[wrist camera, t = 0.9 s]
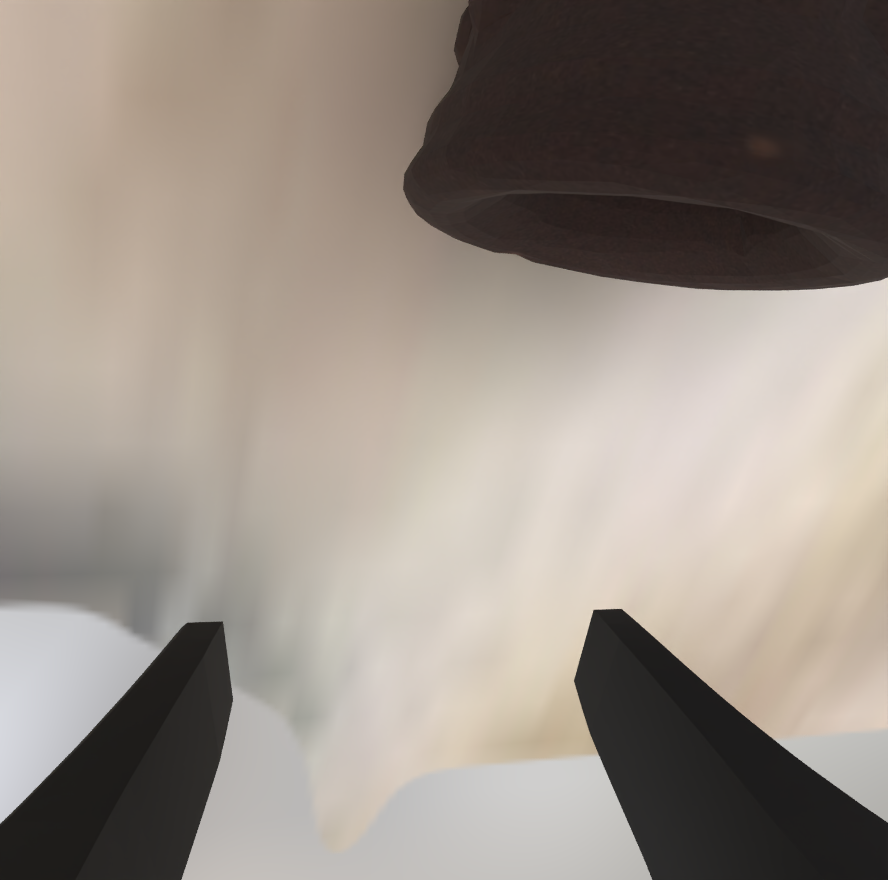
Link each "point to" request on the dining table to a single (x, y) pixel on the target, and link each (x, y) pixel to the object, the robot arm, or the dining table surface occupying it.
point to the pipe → (668, 140)
